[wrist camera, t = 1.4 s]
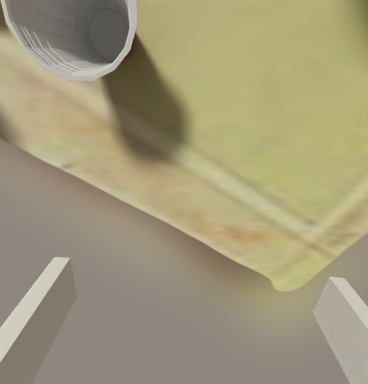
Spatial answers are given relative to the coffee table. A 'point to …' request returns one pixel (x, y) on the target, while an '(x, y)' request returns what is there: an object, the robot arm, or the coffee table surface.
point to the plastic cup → (74, 34)
